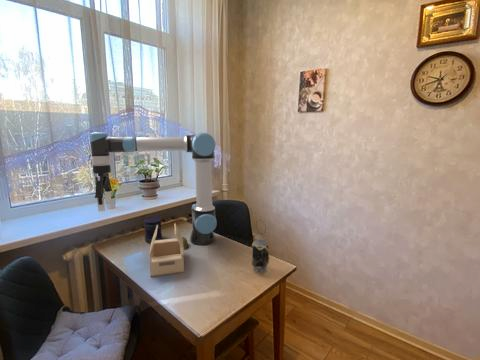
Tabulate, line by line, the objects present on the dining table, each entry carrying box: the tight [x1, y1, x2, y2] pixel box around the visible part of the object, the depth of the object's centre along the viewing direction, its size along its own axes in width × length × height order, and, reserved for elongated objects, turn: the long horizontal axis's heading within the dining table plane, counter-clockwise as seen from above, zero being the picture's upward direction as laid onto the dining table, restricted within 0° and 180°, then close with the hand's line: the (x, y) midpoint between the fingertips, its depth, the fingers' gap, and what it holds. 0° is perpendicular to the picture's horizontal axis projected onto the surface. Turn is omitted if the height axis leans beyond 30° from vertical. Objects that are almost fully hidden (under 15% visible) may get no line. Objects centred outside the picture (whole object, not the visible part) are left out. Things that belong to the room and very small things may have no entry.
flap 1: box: [148, 225, 158, 257], centre depth 120 cm, size 10×15×1 cm
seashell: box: [181, 236, 189, 250], centre depth 144 cm, size 10×7×8 cm
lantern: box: [251, 219, 270, 274], centre depth 119 cm, size 9×8×25 cm
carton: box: [149, 237, 185, 278], centre depth 124 cm, size 15×25×9 cm, turn 16°
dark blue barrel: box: [143, 216, 163, 245], centre depth 150 cm, size 10×10×15 cm
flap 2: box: [174, 223, 185, 253], centre depth 124 cm, size 10×15×1 cm
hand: (105, 207), depth 123 cm, fingers open, 13 cm apart
